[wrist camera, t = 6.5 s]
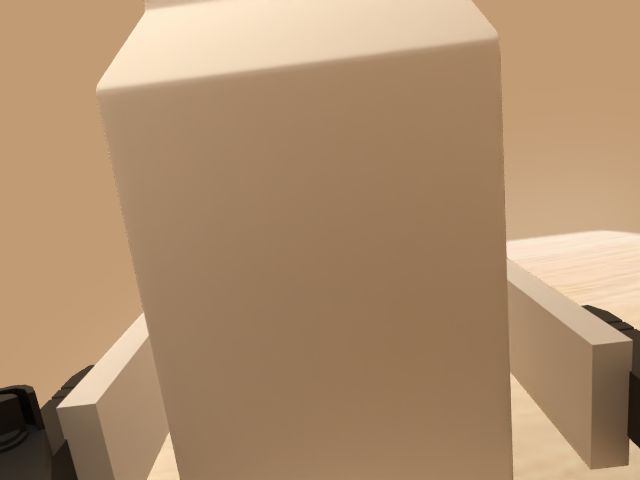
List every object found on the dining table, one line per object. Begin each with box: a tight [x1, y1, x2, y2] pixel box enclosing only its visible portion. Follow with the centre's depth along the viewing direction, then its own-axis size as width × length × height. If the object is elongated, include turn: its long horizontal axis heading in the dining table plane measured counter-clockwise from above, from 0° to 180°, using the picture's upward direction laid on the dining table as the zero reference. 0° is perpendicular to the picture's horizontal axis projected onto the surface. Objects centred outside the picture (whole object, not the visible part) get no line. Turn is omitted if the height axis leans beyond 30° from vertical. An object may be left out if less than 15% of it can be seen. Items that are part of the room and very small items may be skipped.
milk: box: [96, 0, 513, 480], centre depth 11 cm, size 6×6×22 cm
